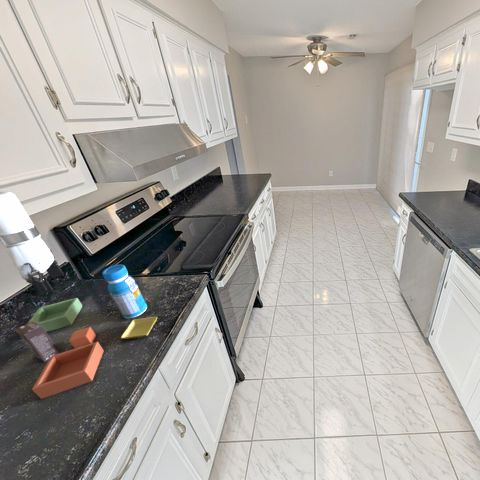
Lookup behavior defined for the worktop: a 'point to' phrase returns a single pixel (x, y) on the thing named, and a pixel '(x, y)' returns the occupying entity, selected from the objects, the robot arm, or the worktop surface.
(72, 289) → the worktop surface
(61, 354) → the terracotta bin
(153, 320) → the yellow flat square tray
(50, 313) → the sage bin
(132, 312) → the blue medicine bottle
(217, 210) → the worktop surface
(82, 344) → the block
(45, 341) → the box
